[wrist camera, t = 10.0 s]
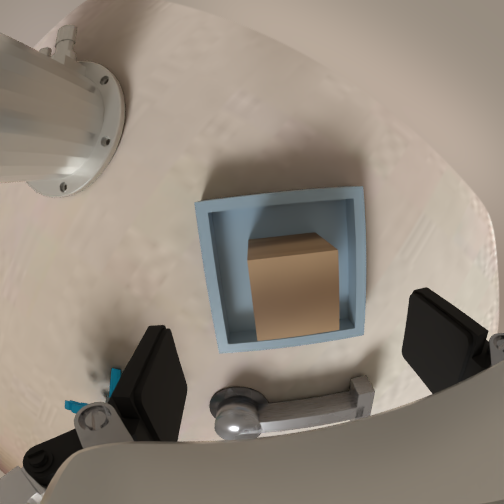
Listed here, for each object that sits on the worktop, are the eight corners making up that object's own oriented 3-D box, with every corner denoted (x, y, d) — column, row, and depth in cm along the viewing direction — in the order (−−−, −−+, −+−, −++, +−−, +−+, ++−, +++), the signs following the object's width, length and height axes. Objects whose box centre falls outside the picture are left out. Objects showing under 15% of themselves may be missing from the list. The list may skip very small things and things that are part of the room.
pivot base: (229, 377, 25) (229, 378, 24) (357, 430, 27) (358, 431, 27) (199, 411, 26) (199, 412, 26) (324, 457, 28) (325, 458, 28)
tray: (200, 200, 21) (194, 202, 19) (351, 185, 21) (363, 186, 18) (222, 337, 24) (219, 353, 21) (354, 321, 23) (363, 334, 21)
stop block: (248, 239, 21) (247, 260, 15) (314, 232, 21) (338, 249, 15) (255, 301, 22) (257, 341, 16) (318, 294, 22) (339, 329, 16)
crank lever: (221, 427, 26) (219, 444, 23) (212, 394, 25) (209, 412, 22) (360, 409, 25) (367, 425, 23) (366, 375, 24) (374, 391, 22)
